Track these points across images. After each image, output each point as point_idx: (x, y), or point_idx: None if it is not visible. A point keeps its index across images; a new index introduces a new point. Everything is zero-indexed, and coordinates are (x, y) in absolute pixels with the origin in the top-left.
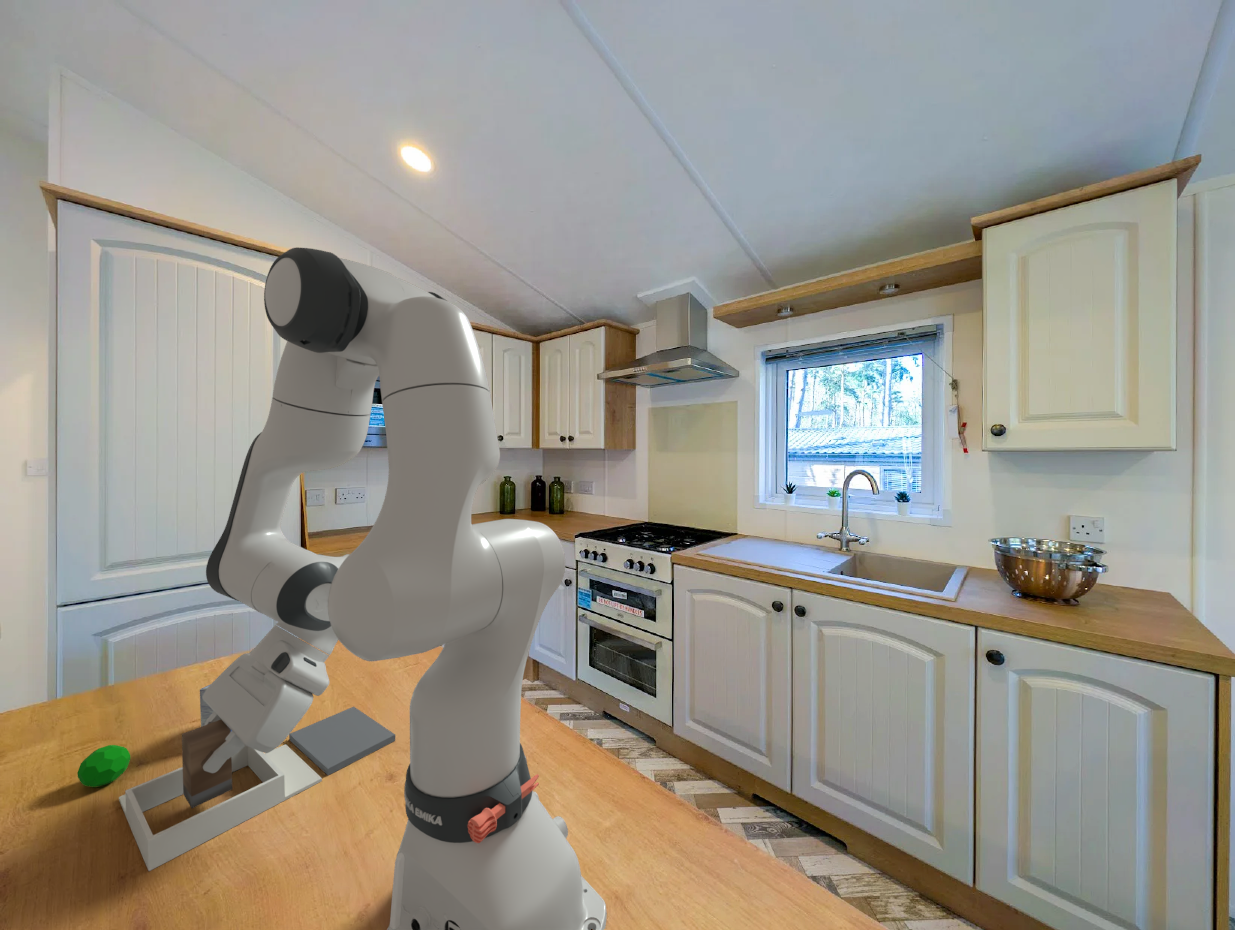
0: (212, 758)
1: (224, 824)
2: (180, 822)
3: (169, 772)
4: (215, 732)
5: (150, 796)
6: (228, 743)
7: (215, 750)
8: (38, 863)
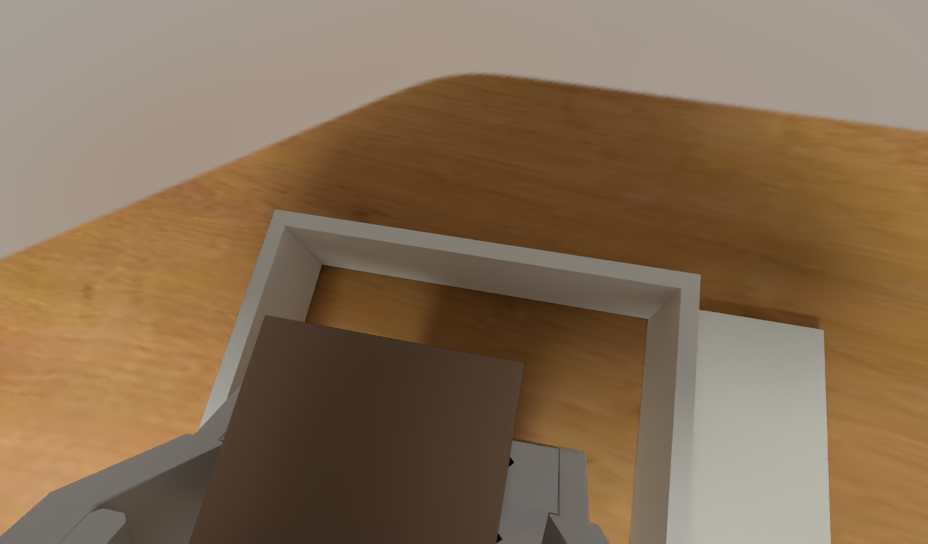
0: (209, 422)
1: None
2: (263, 295)
3: (690, 421)
4: (261, 514)
5: (656, 357)
6: (50, 493)
7: (206, 451)
8: (637, 132)
